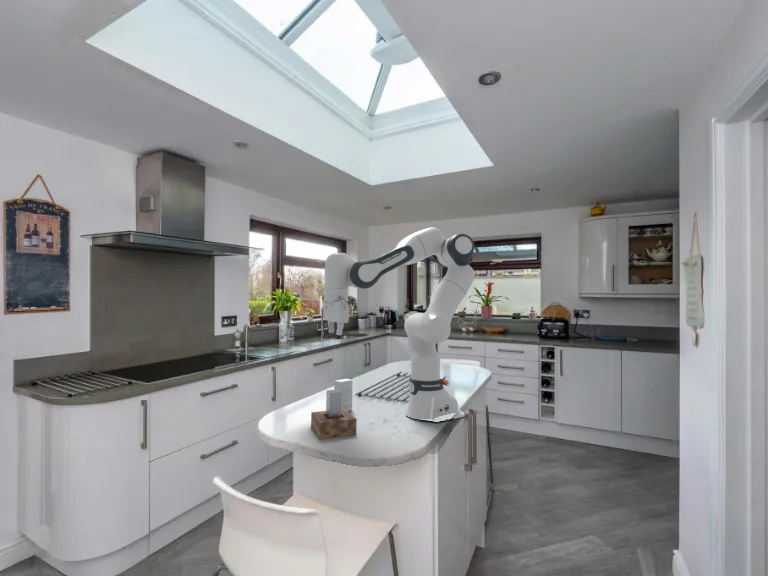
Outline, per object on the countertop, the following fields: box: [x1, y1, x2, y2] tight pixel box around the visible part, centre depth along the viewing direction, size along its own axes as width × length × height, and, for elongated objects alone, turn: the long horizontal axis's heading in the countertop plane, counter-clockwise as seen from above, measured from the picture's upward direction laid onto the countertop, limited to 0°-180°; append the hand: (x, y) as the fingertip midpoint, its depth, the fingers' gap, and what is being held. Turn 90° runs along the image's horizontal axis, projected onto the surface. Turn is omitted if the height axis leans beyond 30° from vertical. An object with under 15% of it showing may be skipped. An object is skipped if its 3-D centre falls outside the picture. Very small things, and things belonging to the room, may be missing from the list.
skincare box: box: [333, 378, 353, 412], centre depth 147 cm, size 6×4×12 cm
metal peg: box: [325, 389, 342, 419], centre depth 125 cm, size 4×4×12 cm
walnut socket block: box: [310, 409, 358, 440], centre depth 125 cm, size 12×12×5 cm
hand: (335, 333), depth 139 cm, fingers open, 8 cm apart
